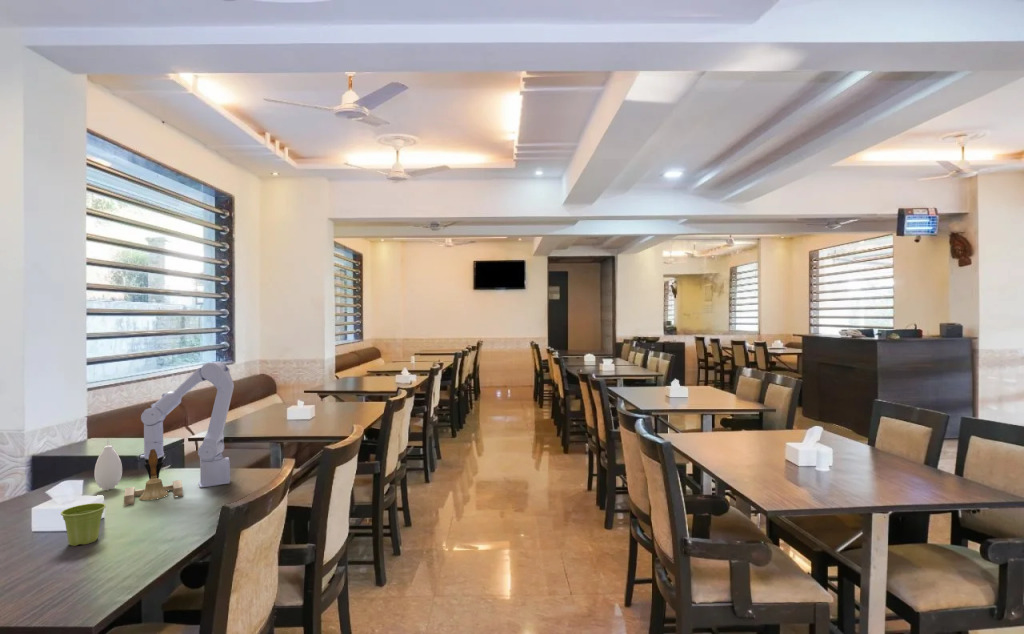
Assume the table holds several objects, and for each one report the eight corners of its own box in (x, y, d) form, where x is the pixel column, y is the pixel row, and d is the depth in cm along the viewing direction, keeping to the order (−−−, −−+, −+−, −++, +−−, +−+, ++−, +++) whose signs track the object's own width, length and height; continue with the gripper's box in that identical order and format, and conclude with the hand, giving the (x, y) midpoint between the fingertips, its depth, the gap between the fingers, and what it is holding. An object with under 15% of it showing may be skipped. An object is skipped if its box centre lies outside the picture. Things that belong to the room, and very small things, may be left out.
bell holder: (181, 488, 193) (181, 479, 193) (182, 496, 183) (182, 487, 183) (125, 497, 184) (125, 488, 184) (124, 505, 174) (124, 496, 174)
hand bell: (158, 500, 179) (157, 451, 179) (133, 501, 179) (132, 452, 180) (174, 493, 187) (173, 446, 188) (150, 493, 188) (149, 446, 188)
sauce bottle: (90, 491, 192) (90, 439, 192) (116, 485, 198) (115, 435, 199) (100, 494, 188) (100, 441, 188) (126, 488, 194) (125, 437, 195)
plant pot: (114, 536, 147) (114, 504, 147) (76, 550, 138) (76, 516, 139) (90, 533, 150) (90, 501, 151) (52, 546, 141) (51, 512, 142)
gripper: (140, 439, 198) (140, 477, 198) (139, 446, 186) (139, 486, 185) (163, 437, 202) (164, 474, 201) (164, 443, 190) (164, 483, 189)
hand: (154, 480), depth 194 cm, fingers open, 7 cm apart
